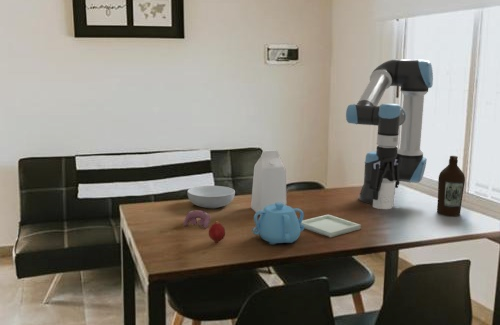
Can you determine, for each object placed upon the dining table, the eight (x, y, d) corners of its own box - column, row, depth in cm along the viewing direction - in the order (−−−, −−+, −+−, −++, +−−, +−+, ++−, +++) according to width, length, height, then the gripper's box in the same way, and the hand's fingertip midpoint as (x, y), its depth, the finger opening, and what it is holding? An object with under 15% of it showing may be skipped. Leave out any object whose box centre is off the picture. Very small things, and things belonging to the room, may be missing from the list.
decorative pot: (309, 238, 197) (310, 202, 195) (286, 250, 184) (287, 212, 182) (271, 230, 207) (272, 195, 204) (247, 240, 194) (247, 203, 191)
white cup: (394, 210, 199) (396, 184, 197) (372, 208, 201) (374, 182, 199) (393, 204, 207) (395, 179, 205) (372, 203, 208) (373, 177, 206)
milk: (276, 205, 240) (278, 147, 235) (286, 212, 229) (288, 152, 224) (250, 207, 236) (252, 148, 231) (259, 214, 226) (261, 153, 221)
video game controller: (209, 230, 209) (213, 212, 211) (205, 228, 205) (208, 210, 206) (186, 227, 212) (189, 210, 214) (181, 225, 208) (185, 207, 209)
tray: (328, 218, 222) (328, 214, 222) (360, 229, 209) (360, 224, 209) (298, 225, 212) (298, 221, 211) (330, 237, 199) (330, 232, 198)
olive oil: (432, 209, 239) (437, 153, 235) (457, 210, 239) (462, 154, 234) (439, 216, 229) (444, 158, 224) (465, 217, 228) (470, 159, 224)
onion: (208, 240, 193) (208, 218, 192) (224, 239, 194) (225, 218, 192) (208, 245, 188) (208, 223, 186) (225, 245, 188) (225, 223, 187)
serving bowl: (242, 203, 243) (243, 188, 242) (220, 215, 225) (221, 198, 223) (202, 197, 252) (202, 183, 250) (178, 208, 233) (177, 192, 232)
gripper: (377, 150, 190) (373, 213, 195) (412, 144, 203) (408, 203, 207) (361, 147, 196) (357, 208, 200) (395, 141, 208) (391, 199, 213)
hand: (383, 205), depth 204 cm, fingers closed on white cup, 8 cm apart
